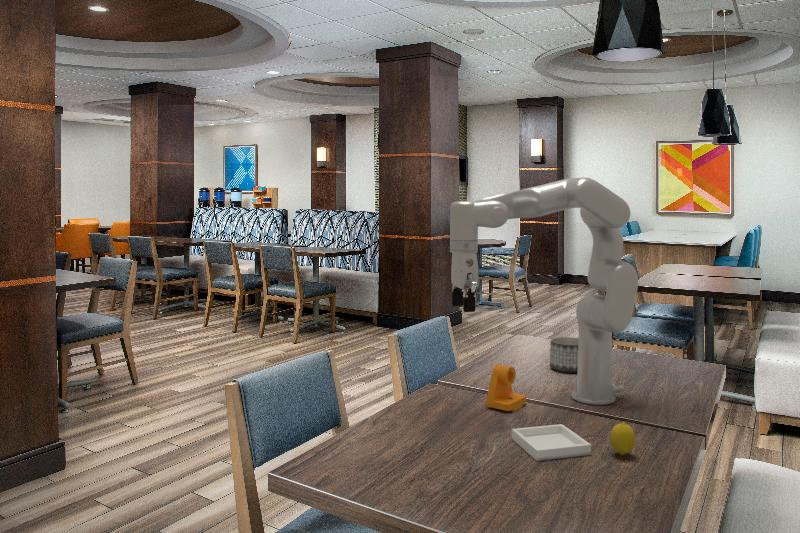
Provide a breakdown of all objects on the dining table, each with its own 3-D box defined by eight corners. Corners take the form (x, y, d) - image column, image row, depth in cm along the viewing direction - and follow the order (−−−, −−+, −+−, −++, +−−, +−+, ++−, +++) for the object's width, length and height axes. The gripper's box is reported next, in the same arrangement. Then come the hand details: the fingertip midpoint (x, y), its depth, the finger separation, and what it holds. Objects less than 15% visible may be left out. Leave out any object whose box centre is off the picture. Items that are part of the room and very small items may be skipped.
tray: (561, 433, 163) (562, 424, 163) (590, 454, 150) (591, 444, 149) (511, 438, 160) (511, 429, 159) (536, 461, 146) (536, 450, 146)
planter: (557, 363, 232) (558, 335, 231) (592, 368, 224) (592, 339, 223) (544, 370, 221) (545, 341, 220) (579, 376, 214) (580, 346, 213)
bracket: (508, 414, 178) (508, 372, 176) (486, 408, 182) (486, 368, 181) (527, 404, 186) (528, 364, 184) (506, 399, 190) (506, 360, 189)
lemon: (605, 451, 152) (607, 418, 151) (628, 450, 152) (629, 418, 151) (615, 460, 146) (616, 427, 145) (638, 459, 147) (640, 426, 146)
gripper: (488, 249, 165) (487, 313, 167) (466, 244, 181) (465, 303, 183) (461, 249, 163) (460, 315, 165) (441, 244, 180) (440, 304, 182)
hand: (463, 308), depth 174 cm, fingers open, 9 cm apart
